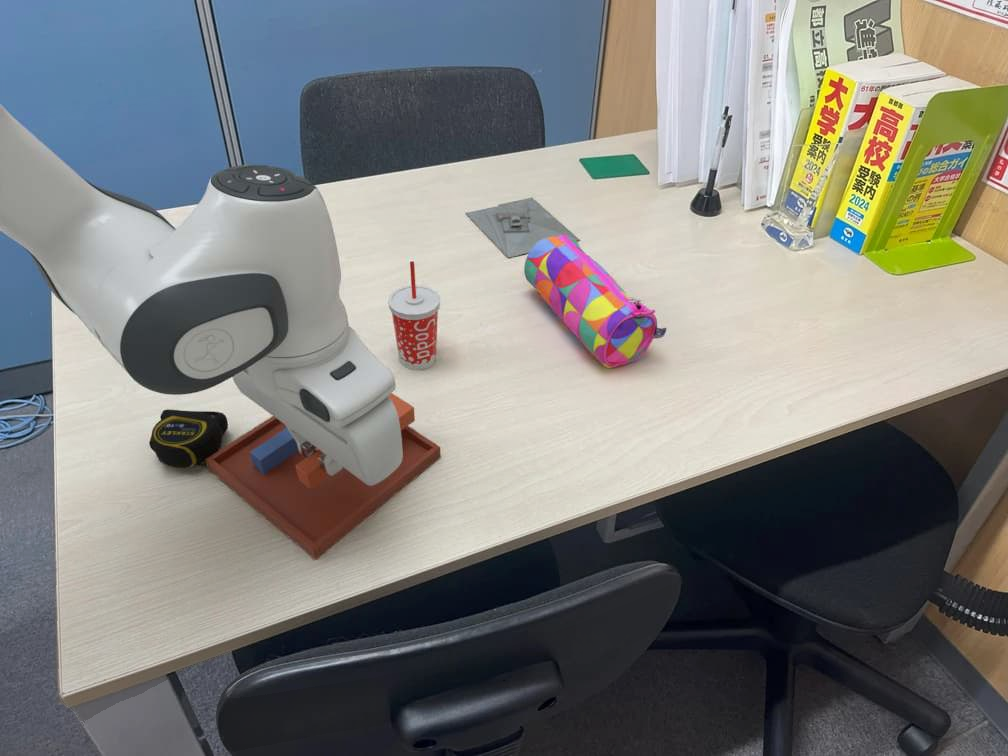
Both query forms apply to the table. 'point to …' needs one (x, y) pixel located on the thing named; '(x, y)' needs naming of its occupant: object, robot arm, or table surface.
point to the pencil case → (590, 302)
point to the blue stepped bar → (274, 451)
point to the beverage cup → (415, 323)
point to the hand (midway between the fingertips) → (322, 460)
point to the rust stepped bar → (310, 466)
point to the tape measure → (187, 437)
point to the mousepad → (518, 225)
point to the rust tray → (327, 505)
